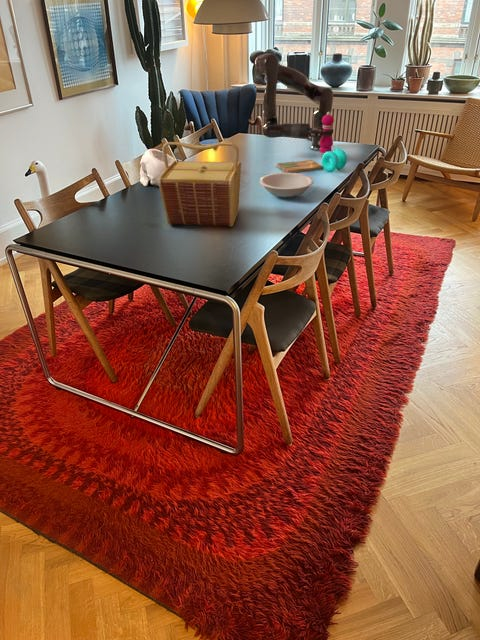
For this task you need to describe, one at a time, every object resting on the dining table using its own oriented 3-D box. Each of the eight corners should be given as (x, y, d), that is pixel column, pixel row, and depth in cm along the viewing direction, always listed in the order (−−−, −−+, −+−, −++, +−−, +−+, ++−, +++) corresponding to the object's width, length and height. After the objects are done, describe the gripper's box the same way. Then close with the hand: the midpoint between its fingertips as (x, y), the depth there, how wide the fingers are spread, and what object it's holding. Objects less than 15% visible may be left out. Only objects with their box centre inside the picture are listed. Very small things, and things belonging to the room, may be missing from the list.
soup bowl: (319, 189, 221) (320, 175, 218) (302, 206, 203) (303, 191, 199) (271, 184, 230) (271, 170, 226) (251, 199, 212) (251, 185, 208)
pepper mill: (333, 150, 259) (336, 110, 248) (331, 153, 253) (334, 113, 242) (319, 149, 260) (322, 110, 249) (317, 153, 255) (320, 112, 244)
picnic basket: (160, 230, 185) (151, 150, 168) (177, 207, 206) (170, 134, 190) (235, 233, 181) (233, 151, 165) (244, 209, 202) (243, 134, 186)
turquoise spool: (319, 170, 248) (321, 150, 242) (332, 166, 253) (333, 146, 248) (334, 174, 241) (336, 153, 236) (347, 169, 247) (349, 150, 241)
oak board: (277, 166, 255) (277, 163, 254) (311, 162, 260) (311, 159, 259) (287, 173, 244) (287, 170, 243) (323, 169, 248) (323, 166, 248)
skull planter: (147, 173, 243) (156, 140, 229) (176, 196, 240) (187, 165, 226) (128, 180, 233) (137, 146, 220) (158, 205, 230) (169, 172, 217)
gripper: (297, 126, 247) (331, 127, 243) (303, 120, 258) (335, 122, 254) (297, 141, 251) (329, 143, 247) (302, 135, 263) (333, 136, 258)
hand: (332, 132), depth 250 cm, fingers closed on pepper mill, 4 cm apart
